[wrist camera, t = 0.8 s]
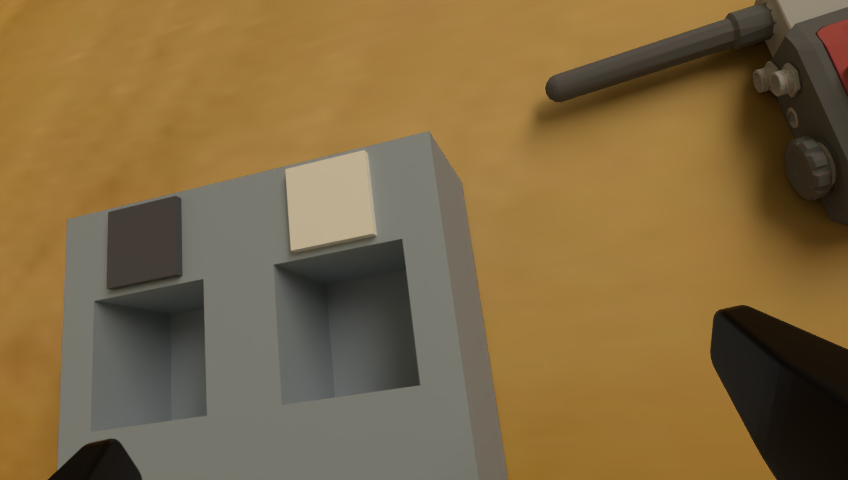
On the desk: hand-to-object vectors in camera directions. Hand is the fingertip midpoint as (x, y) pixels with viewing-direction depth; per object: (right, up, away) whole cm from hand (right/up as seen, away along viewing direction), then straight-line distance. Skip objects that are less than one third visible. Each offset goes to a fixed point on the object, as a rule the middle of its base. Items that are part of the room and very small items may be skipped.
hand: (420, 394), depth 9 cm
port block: (-4, -2, +15) cm, 15 cm away
